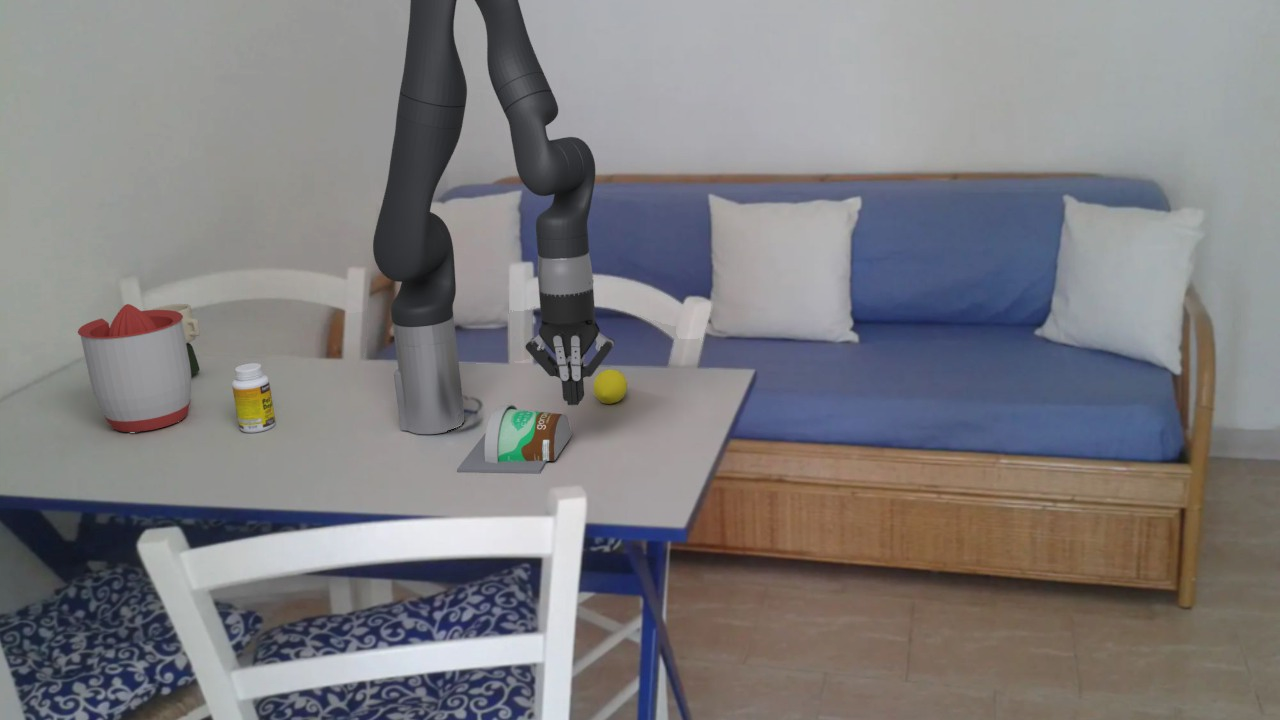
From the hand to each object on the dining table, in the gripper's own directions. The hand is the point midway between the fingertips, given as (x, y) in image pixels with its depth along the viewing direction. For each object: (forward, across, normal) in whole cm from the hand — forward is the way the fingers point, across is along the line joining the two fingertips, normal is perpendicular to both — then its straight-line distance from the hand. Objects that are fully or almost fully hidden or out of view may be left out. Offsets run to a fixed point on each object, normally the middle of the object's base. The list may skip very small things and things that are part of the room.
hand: (574, 403), depth 162 cm
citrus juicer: (+8, -75, +11) cm, 76 cm away
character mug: (+8, -82, +33) cm, 89 cm away
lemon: (+8, +1, +21) cm, 22 cm away
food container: (+4, -2, 0) cm, 4 cm away
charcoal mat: (+7, -10, 0) cm, 12 cm away
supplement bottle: (+8, -54, +8) cm, 55 cm away
